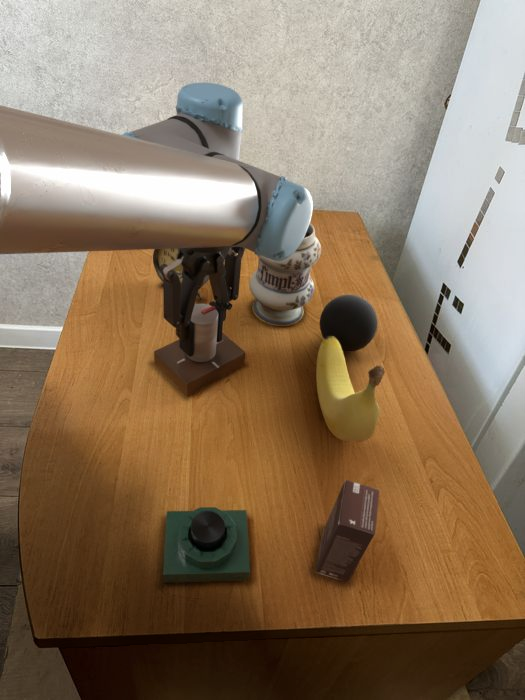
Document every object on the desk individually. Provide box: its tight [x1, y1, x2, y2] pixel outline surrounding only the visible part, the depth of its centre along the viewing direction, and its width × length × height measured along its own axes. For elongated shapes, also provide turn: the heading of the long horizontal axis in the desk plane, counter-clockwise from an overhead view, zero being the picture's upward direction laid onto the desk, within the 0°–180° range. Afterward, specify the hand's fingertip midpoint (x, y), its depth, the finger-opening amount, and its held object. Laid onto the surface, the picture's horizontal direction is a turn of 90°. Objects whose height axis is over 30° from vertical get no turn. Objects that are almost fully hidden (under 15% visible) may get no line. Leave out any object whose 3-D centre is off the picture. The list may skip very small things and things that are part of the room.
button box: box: [162, 506, 251, 584], centre depth 64 cm, size 10×8×4 cm
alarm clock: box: [152, 248, 210, 301], centre depth 97 cm, size 11×5×16 cm, turn 65°
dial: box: [186, 303, 218, 362], centre depth 84 cm, size 5×5×8 cm
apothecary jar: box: [248, 222, 322, 327], centre depth 95 cm, size 12×12×18 cm
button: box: [191, 511, 225, 551], centre depth 62 cm, size 4×4×2 cm
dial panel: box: [153, 331, 247, 397], centre depth 87 cm, size 12×9×3 cm
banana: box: [315, 336, 386, 443], centre depth 77 cm, size 23×6×20 cm, turn 4°
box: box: [315, 479, 380, 583], centre depth 62 cm, size 6×4×12 cm
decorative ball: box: [319, 294, 379, 353], centre depth 93 cm, size 10×10×10 cm
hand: (200, 343), depth 85 cm, fingers closed on dial, 5 cm apart
